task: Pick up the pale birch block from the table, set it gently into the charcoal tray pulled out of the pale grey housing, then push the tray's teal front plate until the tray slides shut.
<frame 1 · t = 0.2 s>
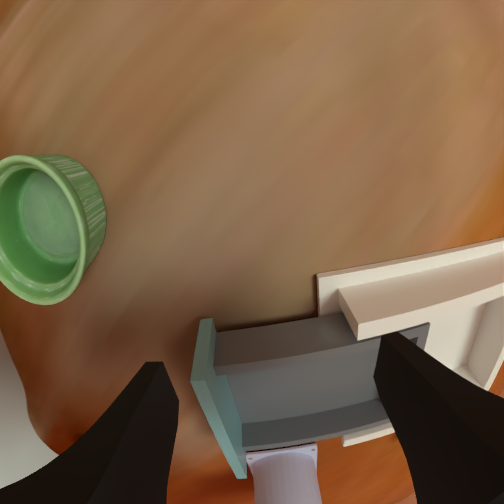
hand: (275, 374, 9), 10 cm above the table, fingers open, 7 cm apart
housing: (406, 341, 22), on the table
tray: (321, 398, 19), point 4 cm above the table, slide at 8.0 cm
ramekin: (60, 212, 17), on the table
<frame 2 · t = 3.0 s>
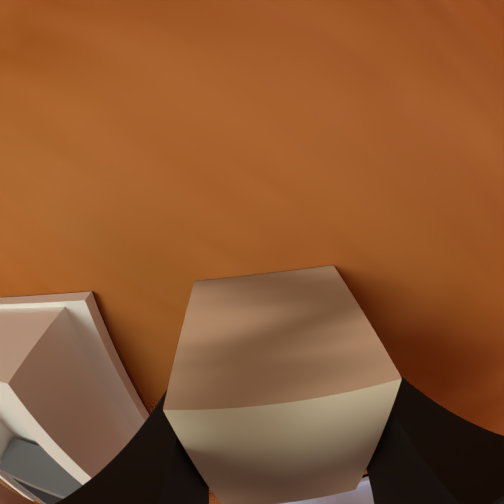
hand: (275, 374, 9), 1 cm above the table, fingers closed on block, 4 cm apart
housing: (56, 431, 13), on the table
block: (271, 347, 10), on the table, touching gripper
when the fingers open (5 cm above the table, at t = 6.8 s): block drops 1 cm, resting on tray.
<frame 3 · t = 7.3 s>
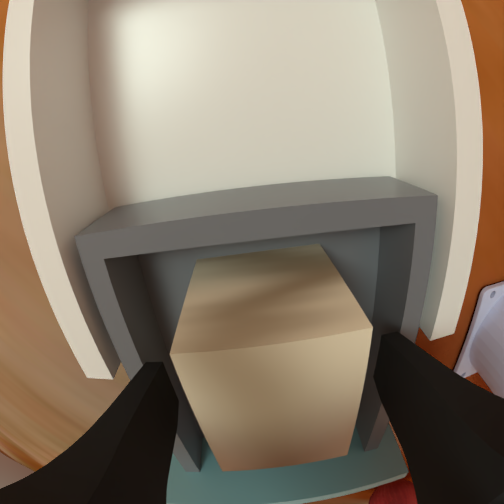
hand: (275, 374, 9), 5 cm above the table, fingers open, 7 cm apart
housing: (248, 151, 11), on the table
tray: (276, 389, 11), point 4 cm above the table, slide at 8.0 cm, touching block
onion: (386, 476, 24), on the table
block: (266, 320, 12), point 2 cm above the table, touching tray
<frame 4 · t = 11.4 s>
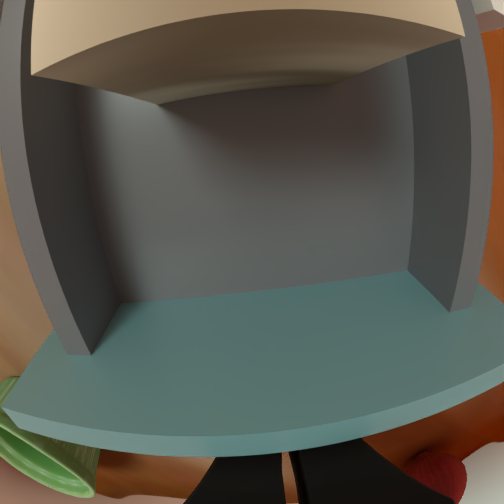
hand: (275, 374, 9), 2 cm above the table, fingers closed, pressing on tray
tray: (242, 28, 4), point 4 cm above the table, slide at 7.4 cm, touching block, gripper
onion: (419, 452, 18), on the table
ramekin: (51, 413, 14), on the table
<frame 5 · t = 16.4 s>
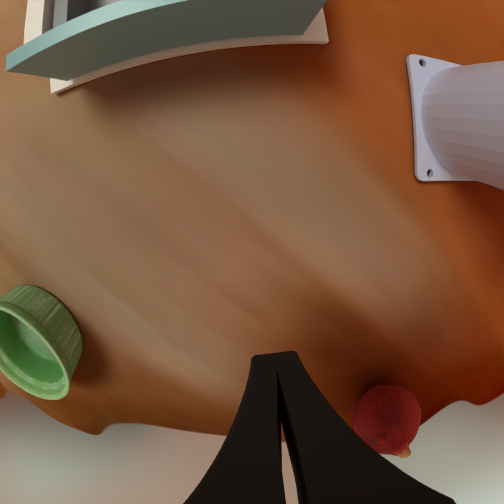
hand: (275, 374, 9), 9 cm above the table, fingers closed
onion: (372, 386, 23), on the table
ramekin: (45, 324, 20), on the table
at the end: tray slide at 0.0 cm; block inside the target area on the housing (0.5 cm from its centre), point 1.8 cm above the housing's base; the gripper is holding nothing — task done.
